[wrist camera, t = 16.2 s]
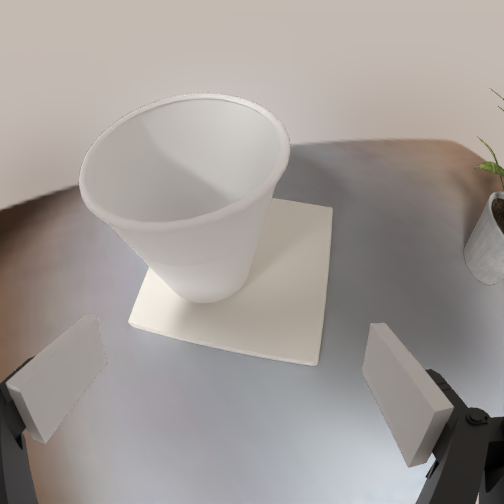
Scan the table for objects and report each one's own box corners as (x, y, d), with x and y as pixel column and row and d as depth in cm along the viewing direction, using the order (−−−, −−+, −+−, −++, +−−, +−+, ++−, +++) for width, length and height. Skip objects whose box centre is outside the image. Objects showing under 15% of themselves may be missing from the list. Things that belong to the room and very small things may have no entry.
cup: (151, 217, 25) (111, 104, 16) (270, 210, 25) (277, 88, 16) (135, 332, 19) (48, 238, 10) (283, 328, 20) (309, 222, 10)
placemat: (133, 326, 21) (128, 322, 20) (186, 193, 28) (184, 186, 27) (315, 366, 19) (317, 363, 18) (330, 215, 26) (332, 207, 25)
